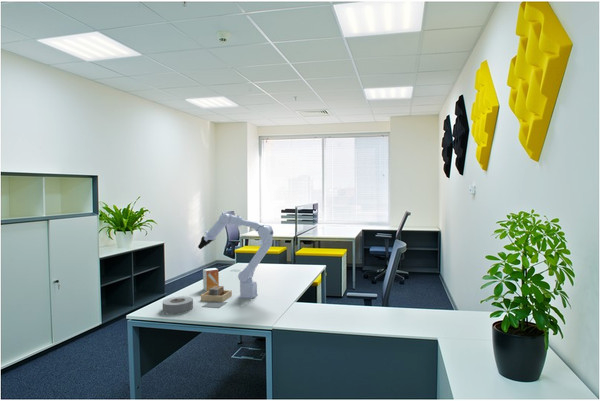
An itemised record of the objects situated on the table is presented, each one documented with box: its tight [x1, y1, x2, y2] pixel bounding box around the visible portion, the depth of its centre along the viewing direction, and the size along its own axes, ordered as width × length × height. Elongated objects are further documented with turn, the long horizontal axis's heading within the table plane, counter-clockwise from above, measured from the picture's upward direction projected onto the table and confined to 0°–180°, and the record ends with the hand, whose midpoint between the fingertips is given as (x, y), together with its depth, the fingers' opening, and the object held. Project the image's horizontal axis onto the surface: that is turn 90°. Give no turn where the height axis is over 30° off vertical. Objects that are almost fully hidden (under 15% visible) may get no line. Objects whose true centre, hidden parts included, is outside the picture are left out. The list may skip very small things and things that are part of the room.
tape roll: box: [162, 295, 194, 315], centre depth 199 cm, size 15×15×5 cm
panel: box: [201, 301, 228, 309], centre depth 204 cm, size 10×10×1 cm
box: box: [209, 285, 225, 296], centre depth 217 cm, size 5×8×6 cm, turn 165°
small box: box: [202, 267, 220, 292], centre depth 238 cm, size 8×6×13 cm
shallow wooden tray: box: [200, 289, 233, 302], centre depth 217 cm, size 13×12×4 cm
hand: (201, 246), depth 226 cm, fingers open, 7 cm apart
